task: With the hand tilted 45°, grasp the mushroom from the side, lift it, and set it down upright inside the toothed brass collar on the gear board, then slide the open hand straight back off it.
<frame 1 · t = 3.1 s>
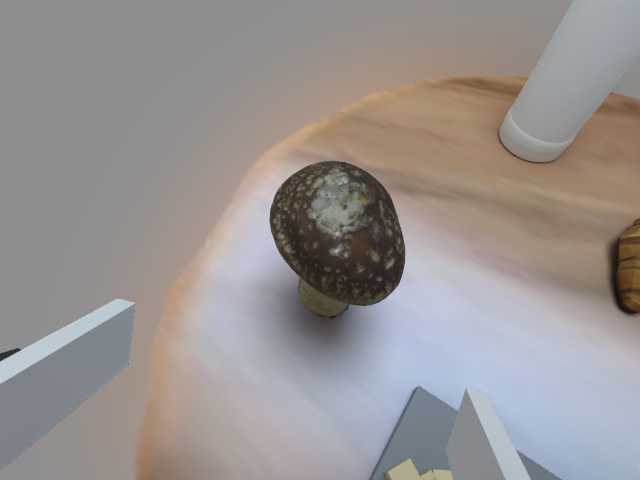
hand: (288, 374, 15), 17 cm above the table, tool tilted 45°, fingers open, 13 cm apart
croissant: (637, 266, 39), on the table
bottle: (528, 142, 48), on the table
mushroom: (325, 305, 35), on the table
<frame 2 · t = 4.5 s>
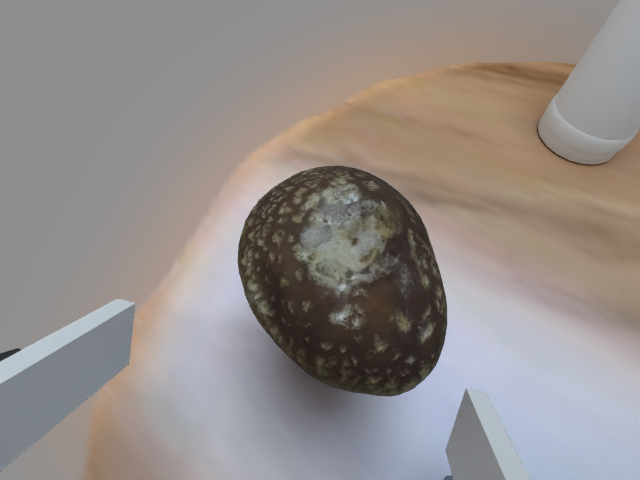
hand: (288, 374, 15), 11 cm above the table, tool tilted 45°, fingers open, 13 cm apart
bottle: (573, 139, 39), on the table
mushroom: (325, 352, 26), on the table
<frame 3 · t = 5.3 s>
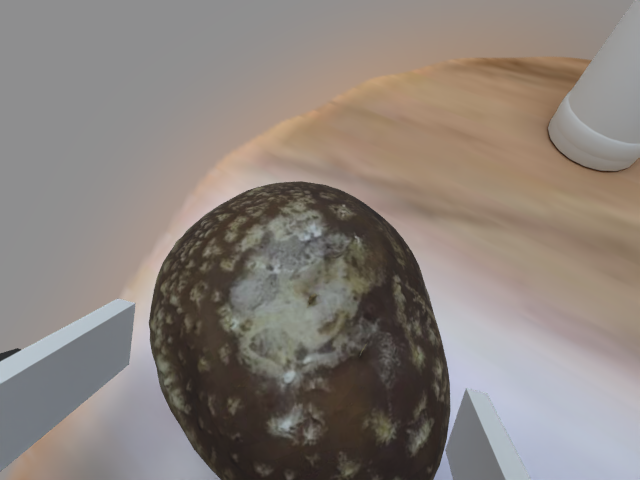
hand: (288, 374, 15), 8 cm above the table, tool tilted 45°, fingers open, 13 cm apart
bottle: (588, 142, 35), on the table
mushroom: (300, 401, 22), on the table
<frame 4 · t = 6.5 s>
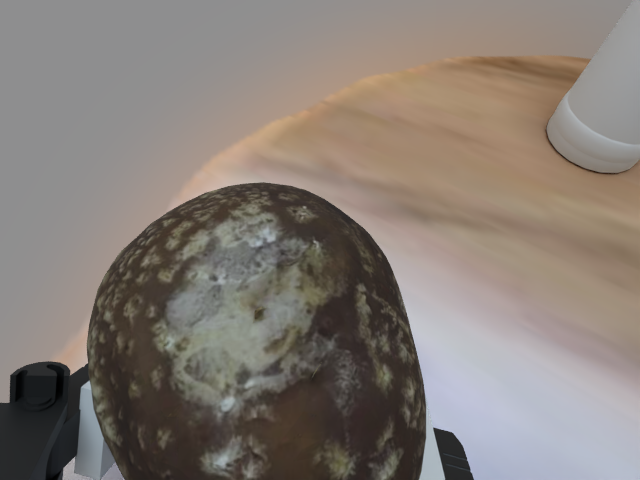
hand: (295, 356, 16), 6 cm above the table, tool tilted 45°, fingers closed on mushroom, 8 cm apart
bottle: (588, 143, 34), on the table
mushroom: (287, 417, 21), on the table, touching gripper
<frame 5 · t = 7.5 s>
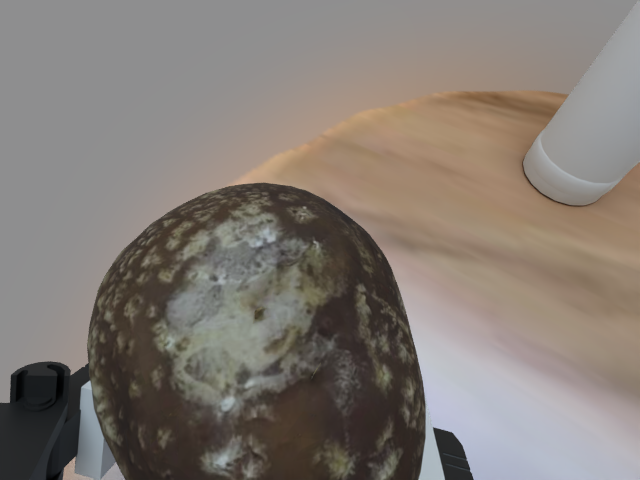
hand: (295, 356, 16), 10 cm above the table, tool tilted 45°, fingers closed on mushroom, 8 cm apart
bottle: (560, 176, 38), on the table
mushroom: (287, 417, 21), point 4 cm above the table, touching gripper
when the fingers open (8 cm above the table, at t = 13.3 s): mushroom moves 1 cm, resting on gear board.
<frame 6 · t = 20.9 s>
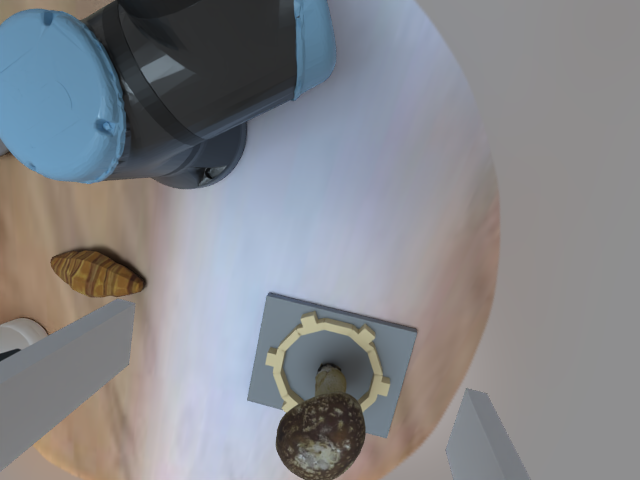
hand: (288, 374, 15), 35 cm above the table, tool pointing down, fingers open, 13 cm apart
gear board: (328, 363, 52), on the table
croissant: (104, 269, 54), on the table
bottle: (29, 340, 58), on the table
mushroom: (332, 372, 51), point 1 cm above the table, touching gear board
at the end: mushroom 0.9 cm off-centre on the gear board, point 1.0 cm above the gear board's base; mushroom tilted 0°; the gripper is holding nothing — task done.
